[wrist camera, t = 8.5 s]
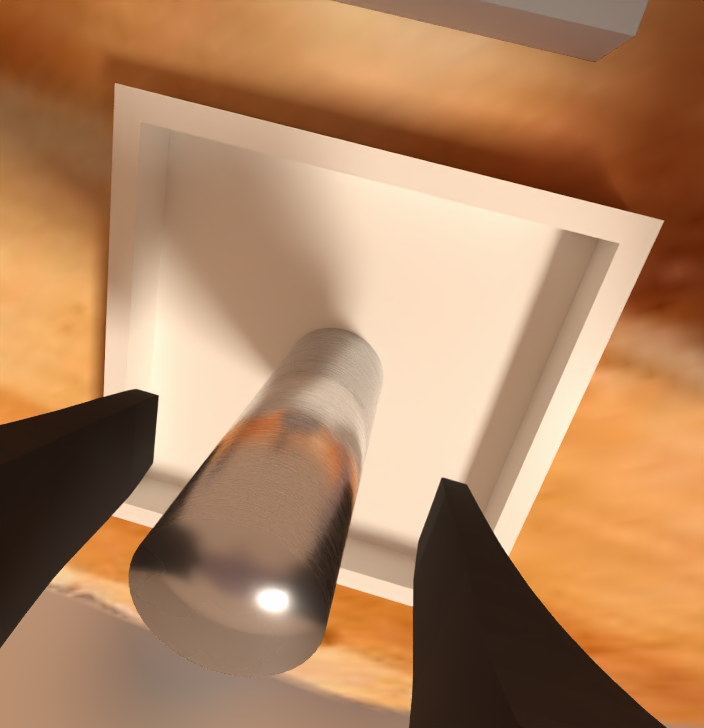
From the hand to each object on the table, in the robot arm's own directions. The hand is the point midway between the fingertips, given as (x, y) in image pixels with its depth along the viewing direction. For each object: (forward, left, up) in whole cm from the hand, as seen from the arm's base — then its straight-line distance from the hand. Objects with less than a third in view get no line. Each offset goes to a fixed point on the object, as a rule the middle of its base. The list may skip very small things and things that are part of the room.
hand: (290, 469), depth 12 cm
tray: (0, 0, -7) cm, 7 cm away
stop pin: (0, 0, -6) cm, 6 cm away
